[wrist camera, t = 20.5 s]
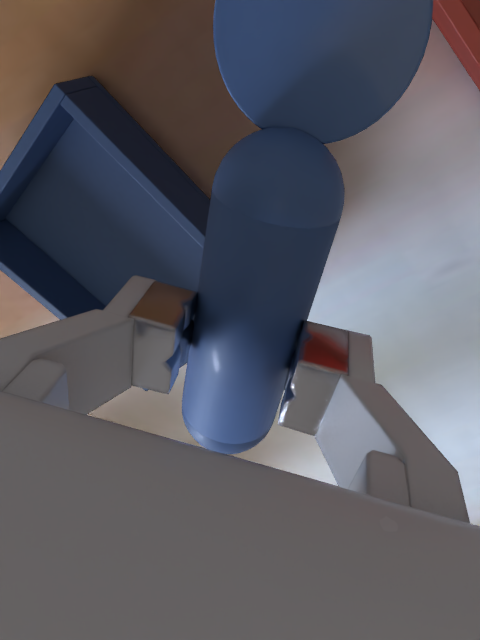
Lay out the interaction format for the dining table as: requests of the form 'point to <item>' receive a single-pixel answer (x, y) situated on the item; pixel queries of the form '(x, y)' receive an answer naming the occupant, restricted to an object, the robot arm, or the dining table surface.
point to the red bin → (461, 31)
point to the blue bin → (95, 205)
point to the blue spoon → (283, 189)
